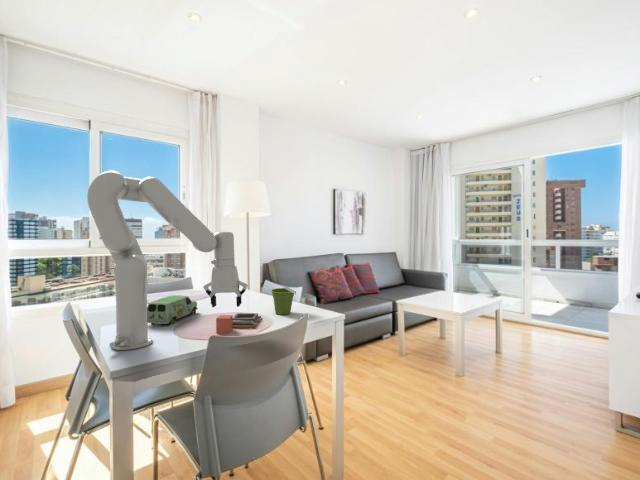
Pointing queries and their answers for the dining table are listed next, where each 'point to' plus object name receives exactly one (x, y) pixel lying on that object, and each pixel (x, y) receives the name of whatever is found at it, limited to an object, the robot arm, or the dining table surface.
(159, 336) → the dining table surface
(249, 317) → the board
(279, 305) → the plant pot
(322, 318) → the dining table surface
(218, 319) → the red block
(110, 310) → the dining table surface
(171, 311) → the toy car
